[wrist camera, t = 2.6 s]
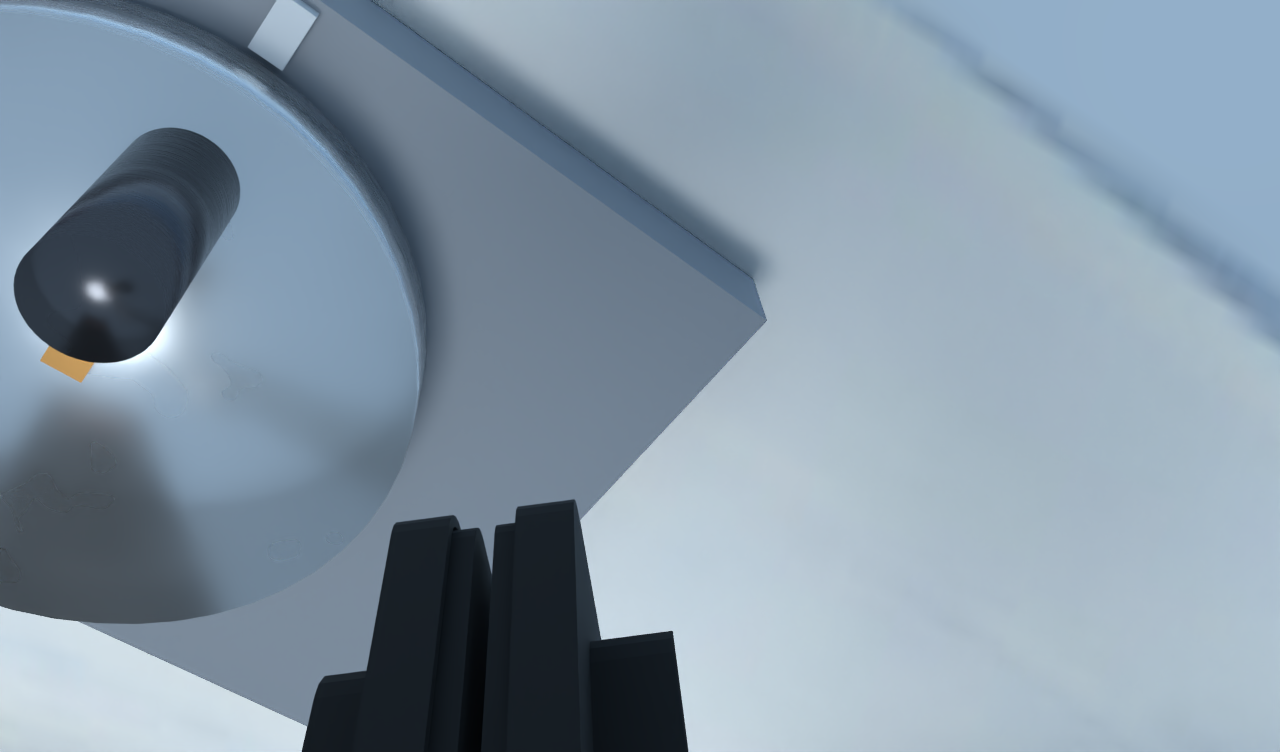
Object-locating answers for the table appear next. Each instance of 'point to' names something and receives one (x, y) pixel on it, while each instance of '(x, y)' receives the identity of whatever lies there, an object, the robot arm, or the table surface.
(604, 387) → the grey base plate
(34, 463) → the dial
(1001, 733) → the table surface
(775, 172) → the table surface
